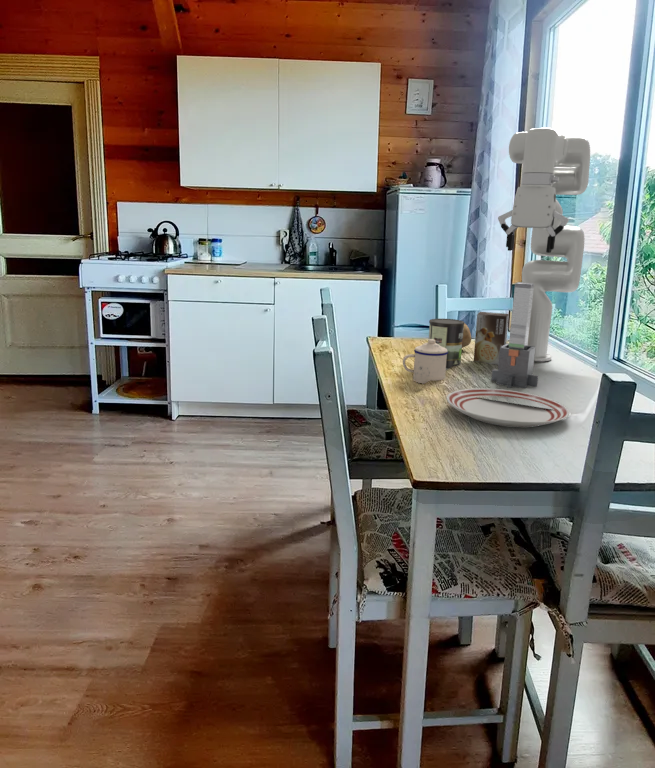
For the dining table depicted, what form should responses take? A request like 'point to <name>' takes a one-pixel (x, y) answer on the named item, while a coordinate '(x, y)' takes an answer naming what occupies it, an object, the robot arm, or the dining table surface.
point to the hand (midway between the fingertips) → (529, 251)
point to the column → (521, 315)
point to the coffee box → (490, 336)
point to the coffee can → (448, 338)
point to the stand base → (515, 367)
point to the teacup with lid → (428, 362)
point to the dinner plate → (506, 408)
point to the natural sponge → (466, 336)
